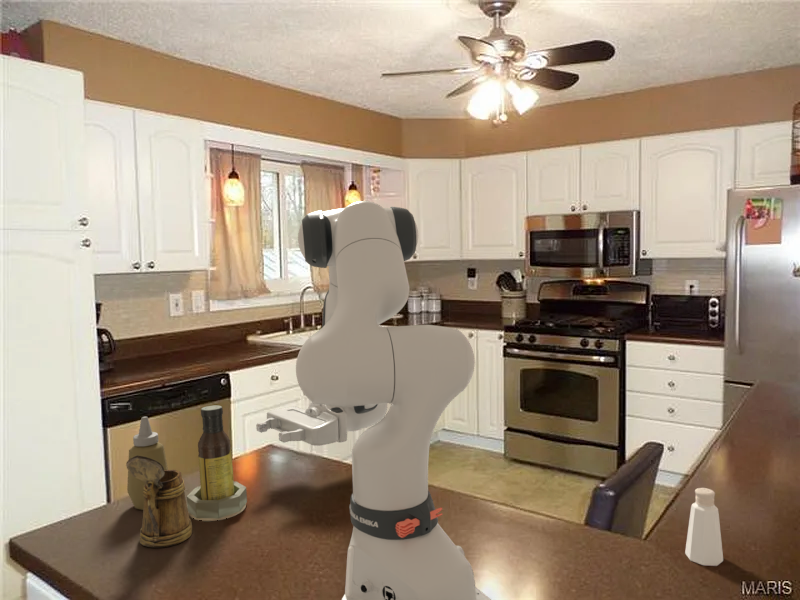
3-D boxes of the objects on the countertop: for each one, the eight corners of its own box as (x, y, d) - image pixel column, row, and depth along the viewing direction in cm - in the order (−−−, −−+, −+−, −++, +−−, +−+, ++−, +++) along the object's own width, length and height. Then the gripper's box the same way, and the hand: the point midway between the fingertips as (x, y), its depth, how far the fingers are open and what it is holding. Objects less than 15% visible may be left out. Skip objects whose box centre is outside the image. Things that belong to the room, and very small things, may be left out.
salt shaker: (703, 569, 91) (704, 499, 91) (677, 552, 97) (678, 486, 96) (731, 563, 93) (732, 494, 92) (704, 546, 98) (705, 481, 97)
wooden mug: (116, 562, 98) (109, 456, 97) (153, 525, 112) (147, 431, 110) (170, 562, 98) (163, 455, 96) (200, 524, 111) (195, 430, 110)
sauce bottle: (241, 502, 119) (236, 404, 118) (220, 515, 114) (215, 412, 112) (216, 498, 122) (211, 402, 120) (194, 510, 116) (188, 409, 115)
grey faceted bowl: (255, 508, 117) (255, 491, 117) (202, 526, 110) (201, 508, 110) (231, 493, 125) (230, 477, 125) (180, 508, 118) (179, 491, 118)
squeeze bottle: (178, 496, 125) (173, 411, 123) (159, 513, 117) (153, 423, 115) (141, 495, 125) (136, 411, 124) (120, 512, 117) (113, 423, 116)
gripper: (298, 397, 141) (244, 409, 132) (350, 413, 126) (293, 428, 117) (299, 423, 142) (246, 436, 133) (351, 443, 127) (295, 459, 118)
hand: (268, 433), depth 125 cm, fingers open, 8 cm apart
